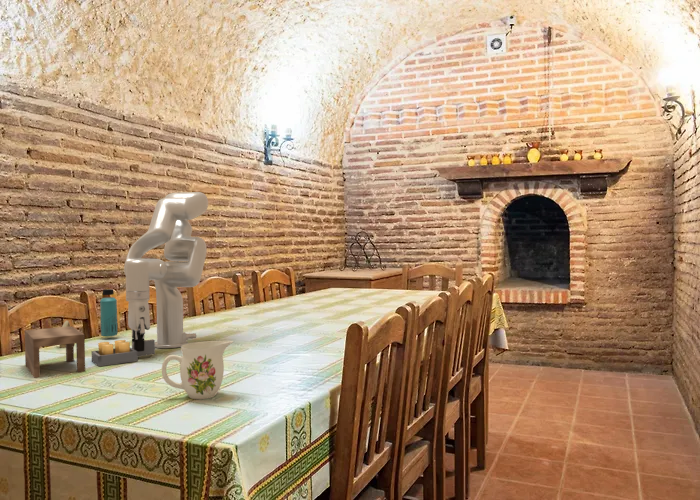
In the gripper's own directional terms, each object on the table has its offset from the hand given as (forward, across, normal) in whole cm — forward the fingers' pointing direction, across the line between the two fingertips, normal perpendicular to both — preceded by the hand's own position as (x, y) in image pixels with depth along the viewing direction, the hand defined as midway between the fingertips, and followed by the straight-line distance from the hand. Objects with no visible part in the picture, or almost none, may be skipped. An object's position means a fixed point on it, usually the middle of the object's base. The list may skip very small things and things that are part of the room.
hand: (138, 350), depth 203 cm
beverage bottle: (+2, +46, -1) cm, 47 cm away
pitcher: (+4, -58, +1) cm, 58 cm away
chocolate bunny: (+3, +40, +16) cm, 43 cm away
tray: (+3, 0, +4) cm, 5 cm away
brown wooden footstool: (+3, 0, +26) cm, 26 cm away
